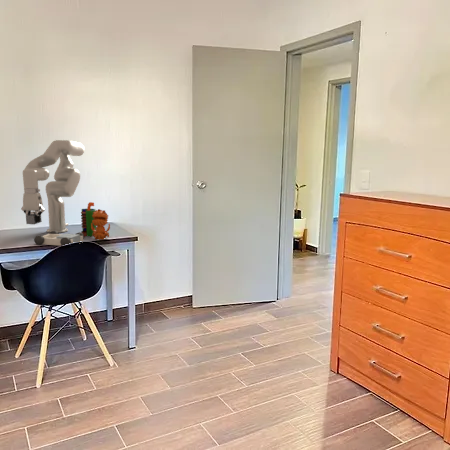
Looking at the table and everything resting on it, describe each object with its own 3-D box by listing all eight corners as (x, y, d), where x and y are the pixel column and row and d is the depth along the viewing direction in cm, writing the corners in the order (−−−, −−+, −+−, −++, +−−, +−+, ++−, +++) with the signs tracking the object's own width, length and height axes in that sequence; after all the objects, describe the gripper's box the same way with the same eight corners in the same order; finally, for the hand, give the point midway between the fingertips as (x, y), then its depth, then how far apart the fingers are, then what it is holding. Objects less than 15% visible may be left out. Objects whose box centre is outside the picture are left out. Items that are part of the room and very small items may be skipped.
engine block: (34, 221, 262) (33, 210, 261) (41, 221, 261) (40, 211, 260) (26, 223, 256) (25, 212, 254) (34, 224, 255) (33, 213, 253)
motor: (77, 234, 274) (76, 202, 270) (91, 232, 280) (90, 201, 277) (86, 237, 267) (85, 204, 263) (99, 235, 273) (98, 202, 270)
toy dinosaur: (88, 240, 258) (87, 209, 255) (94, 236, 269) (93, 207, 266) (107, 240, 258) (106, 210, 254) (112, 237, 268) (111, 207, 265)
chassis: (50, 238, 260) (50, 230, 259) (85, 241, 256) (84, 232, 255) (33, 244, 245) (33, 235, 244) (69, 247, 240) (69, 238, 239)
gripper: (48, 190, 256) (51, 221, 260) (22, 189, 260) (25, 219, 264) (40, 192, 249) (43, 224, 253) (13, 191, 253) (16, 222, 257)
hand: (34, 221), depth 258 cm, fingers closed on engine block, 5 cm apart
